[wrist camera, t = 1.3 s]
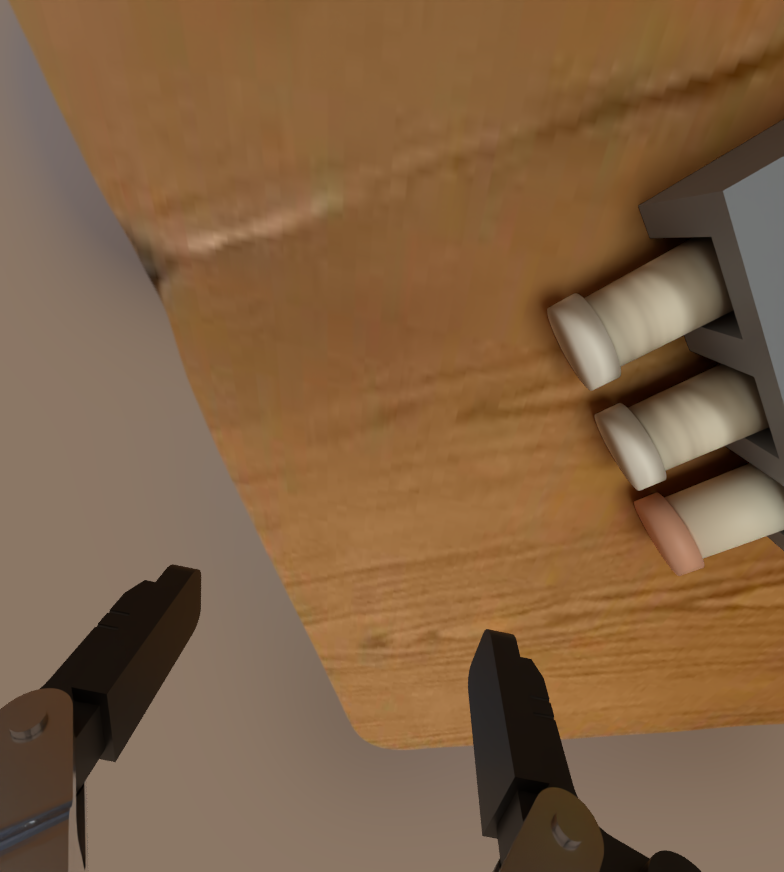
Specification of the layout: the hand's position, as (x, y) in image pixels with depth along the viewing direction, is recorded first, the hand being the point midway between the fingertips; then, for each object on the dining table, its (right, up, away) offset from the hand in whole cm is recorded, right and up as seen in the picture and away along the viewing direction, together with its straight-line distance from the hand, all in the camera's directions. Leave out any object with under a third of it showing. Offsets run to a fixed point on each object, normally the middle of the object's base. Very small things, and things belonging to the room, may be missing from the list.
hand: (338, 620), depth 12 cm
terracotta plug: (+28, 0, +25) cm, 37 cm away
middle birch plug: (+23, +8, +22) cm, 33 cm away
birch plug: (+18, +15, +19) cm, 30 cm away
